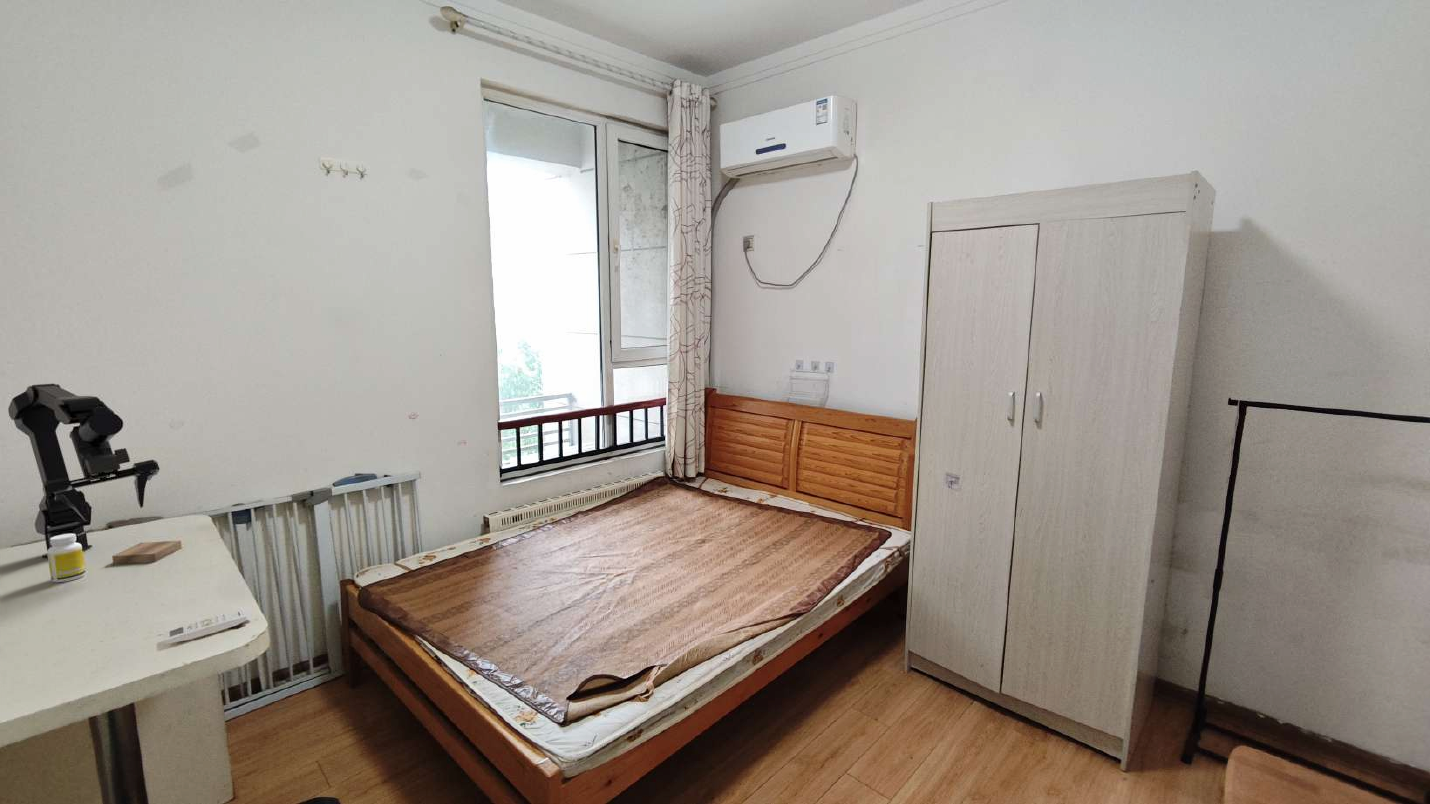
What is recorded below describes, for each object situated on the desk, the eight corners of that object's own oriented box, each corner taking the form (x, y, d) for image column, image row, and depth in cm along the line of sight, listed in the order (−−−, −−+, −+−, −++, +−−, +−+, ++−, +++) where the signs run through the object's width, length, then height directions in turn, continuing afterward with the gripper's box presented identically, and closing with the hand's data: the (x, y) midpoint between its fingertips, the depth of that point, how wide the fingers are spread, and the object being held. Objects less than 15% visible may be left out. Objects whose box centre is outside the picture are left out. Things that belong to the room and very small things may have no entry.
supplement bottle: (92, 573, 142) (86, 532, 140) (66, 583, 136) (59, 541, 135) (71, 572, 142) (65, 531, 141) (44, 582, 137) (37, 540, 135)
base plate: (113, 564, 147) (112, 556, 147) (141, 550, 156) (140, 542, 156) (155, 561, 148) (154, 553, 148) (181, 548, 157) (180, 540, 157)
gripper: (34, 450, 129) (57, 520, 128) (151, 430, 143) (173, 493, 142) (33, 464, 136) (55, 530, 135) (145, 443, 150) (166, 503, 149)
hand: (115, 513), depth 140 cm, fingers open, 9 cm apart
